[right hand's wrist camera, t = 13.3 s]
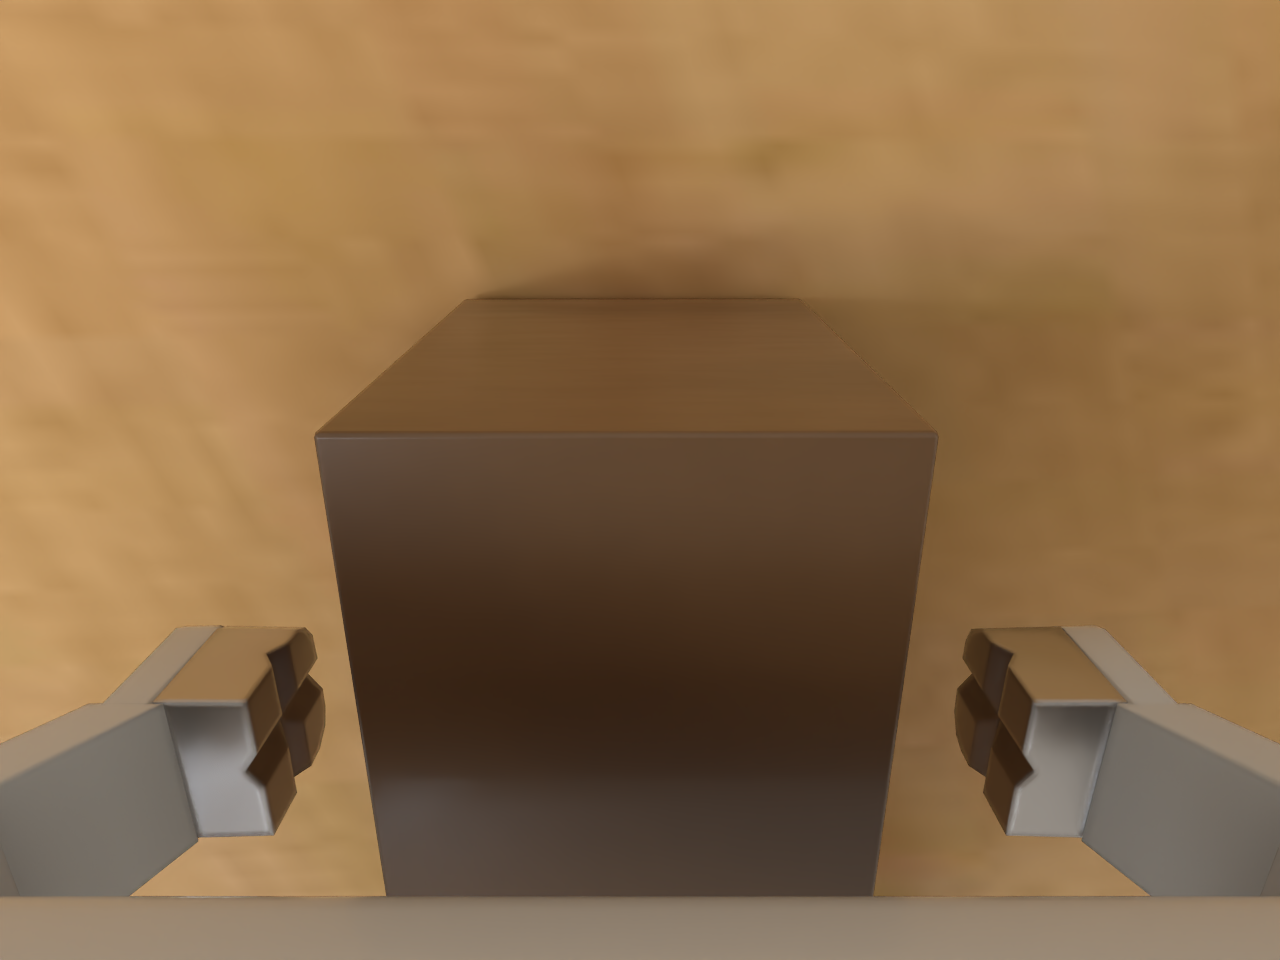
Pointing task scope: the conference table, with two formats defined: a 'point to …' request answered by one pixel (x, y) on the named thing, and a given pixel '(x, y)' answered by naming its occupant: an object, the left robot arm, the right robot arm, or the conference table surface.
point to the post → (628, 598)
